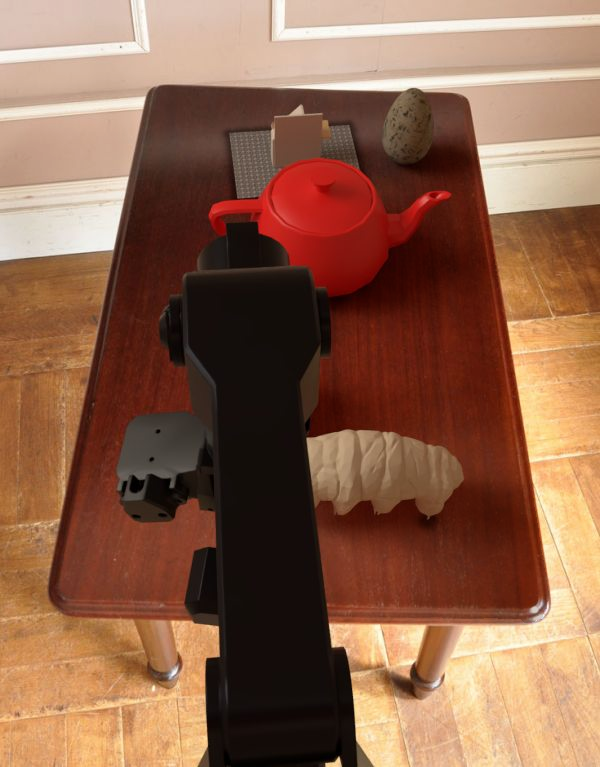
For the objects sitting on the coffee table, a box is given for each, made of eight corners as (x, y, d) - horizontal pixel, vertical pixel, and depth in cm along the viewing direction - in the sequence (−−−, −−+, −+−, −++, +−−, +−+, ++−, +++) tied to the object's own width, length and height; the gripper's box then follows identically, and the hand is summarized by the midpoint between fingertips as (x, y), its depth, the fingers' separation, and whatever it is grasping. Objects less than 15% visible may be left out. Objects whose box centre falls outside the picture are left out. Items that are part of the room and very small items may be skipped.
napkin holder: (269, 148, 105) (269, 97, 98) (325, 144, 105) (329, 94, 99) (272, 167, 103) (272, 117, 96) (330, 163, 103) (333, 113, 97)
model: (261, 468, 81) (260, 413, 72) (449, 469, 81) (469, 414, 73) (260, 533, 77) (258, 483, 69) (457, 534, 77) (479, 484, 69)
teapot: (211, 315, 90) (203, 234, 80) (213, 208, 99) (206, 123, 89) (446, 310, 91) (468, 231, 81) (428, 205, 100) (445, 121, 90)
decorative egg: (387, 179, 102) (397, 111, 94) (372, 146, 105) (381, 77, 97) (434, 172, 103) (449, 103, 95) (418, 139, 106) (431, 70, 98)
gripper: (150, 289, 55) (174, 414, 68) (78, 562, 45) (122, 647, 58) (322, 306, 55) (312, 429, 68) (288, 586, 45) (285, 667, 58)
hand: (258, 533), depth 63 cm, fingers open, 9 cm apart
